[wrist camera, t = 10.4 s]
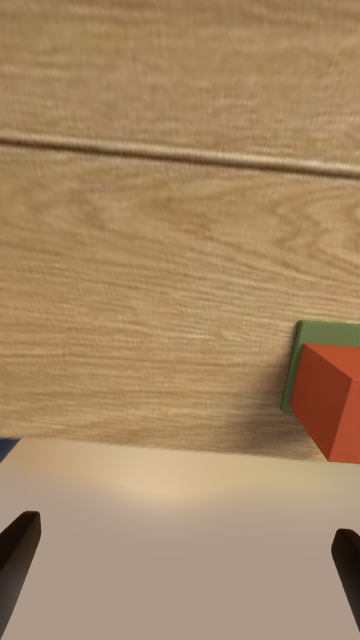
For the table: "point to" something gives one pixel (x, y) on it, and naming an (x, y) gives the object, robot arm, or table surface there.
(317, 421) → the block
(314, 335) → the cloth mat
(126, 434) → the table surface
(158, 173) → the table surface
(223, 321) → the table surface
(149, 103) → the table surface
